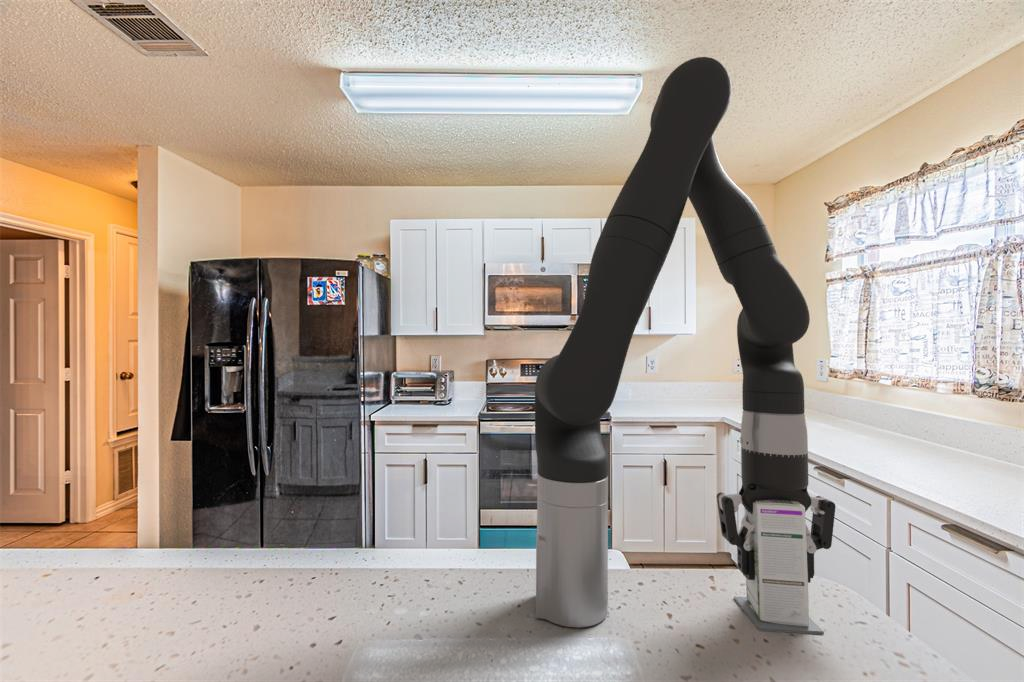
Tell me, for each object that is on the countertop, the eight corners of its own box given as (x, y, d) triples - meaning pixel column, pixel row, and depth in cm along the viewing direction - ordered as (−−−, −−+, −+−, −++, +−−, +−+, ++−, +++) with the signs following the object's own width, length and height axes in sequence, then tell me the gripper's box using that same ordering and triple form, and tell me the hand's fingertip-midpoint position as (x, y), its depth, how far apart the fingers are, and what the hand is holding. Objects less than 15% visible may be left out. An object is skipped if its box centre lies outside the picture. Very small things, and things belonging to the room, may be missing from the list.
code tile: (759, 630, 54) (759, 627, 54) (733, 598, 62) (733, 595, 62) (823, 634, 54) (823, 631, 54) (790, 601, 61) (790, 598, 61)
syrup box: (811, 628, 54) (809, 505, 55) (758, 621, 56) (756, 502, 56) (792, 603, 60) (790, 492, 61) (743, 598, 61) (742, 489, 62)
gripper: (727, 450, 56) (729, 590, 55) (850, 454, 54) (854, 596, 54) (706, 440, 63) (707, 563, 62) (814, 443, 62) (817, 568, 61)
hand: (775, 578), depth 58 cm, fingers closed on syrup box, 6 cm apart
